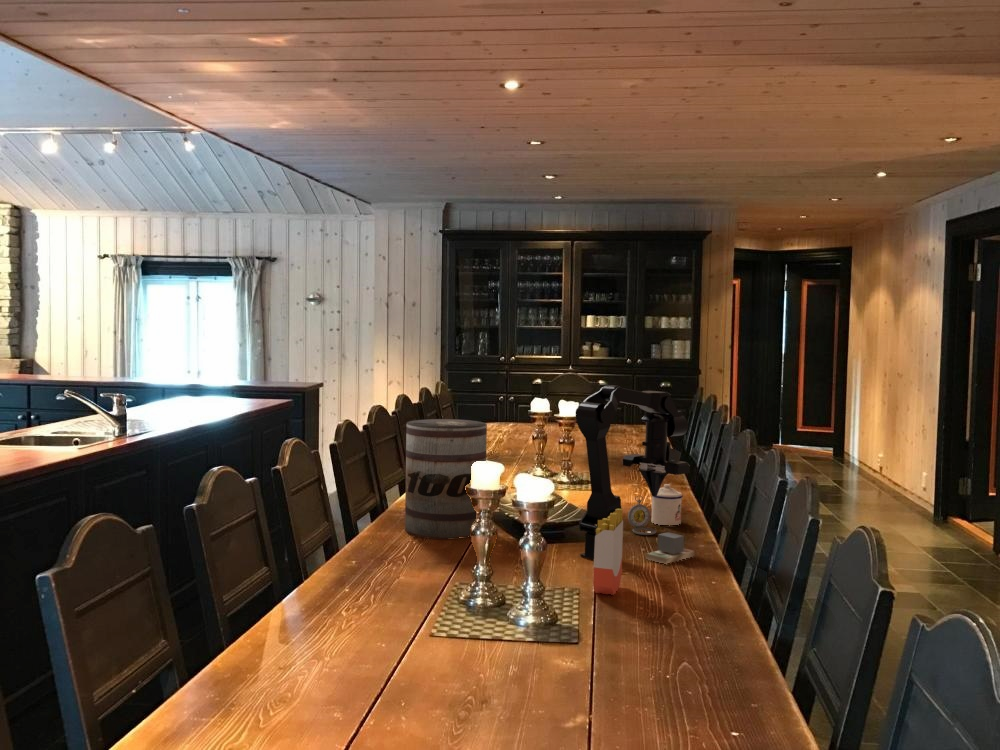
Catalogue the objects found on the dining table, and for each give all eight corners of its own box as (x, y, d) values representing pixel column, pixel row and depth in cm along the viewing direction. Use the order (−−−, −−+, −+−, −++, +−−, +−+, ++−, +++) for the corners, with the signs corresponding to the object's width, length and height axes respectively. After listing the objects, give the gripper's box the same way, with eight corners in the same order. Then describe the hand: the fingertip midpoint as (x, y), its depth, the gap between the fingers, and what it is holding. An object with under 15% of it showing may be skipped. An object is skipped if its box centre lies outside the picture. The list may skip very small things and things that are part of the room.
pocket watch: (649, 537, 244) (650, 501, 244) (622, 532, 250) (623, 497, 249) (662, 532, 251) (664, 497, 250) (636, 527, 256) (637, 493, 255)
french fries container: (591, 596, 191) (593, 514, 190) (601, 582, 201) (603, 504, 200) (612, 598, 190) (614, 516, 188) (621, 584, 200) (623, 506, 199)
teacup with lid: (682, 527, 257) (683, 488, 256) (650, 525, 258) (651, 486, 258) (680, 518, 269) (682, 480, 268) (650, 516, 270) (651, 479, 270)
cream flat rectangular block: (664, 564, 217) (665, 558, 217) (645, 559, 222) (645, 553, 221) (694, 556, 225) (694, 550, 225) (675, 551, 229) (675, 545, 229)
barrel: (423, 542, 234) (425, 430, 232) (392, 524, 253) (394, 420, 252) (498, 534, 244) (501, 426, 242) (463, 517, 264) (465, 418, 262)
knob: (673, 554, 220) (674, 538, 220) (657, 549, 224) (658, 534, 223) (683, 551, 223) (683, 536, 222) (667, 547, 226) (668, 532, 226)
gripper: (703, 439, 234) (701, 498, 235) (648, 432, 248) (646, 487, 249) (677, 443, 227) (675, 503, 228) (621, 435, 241) (620, 491, 242)
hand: (654, 495), depth 237 cm, fingers closed
